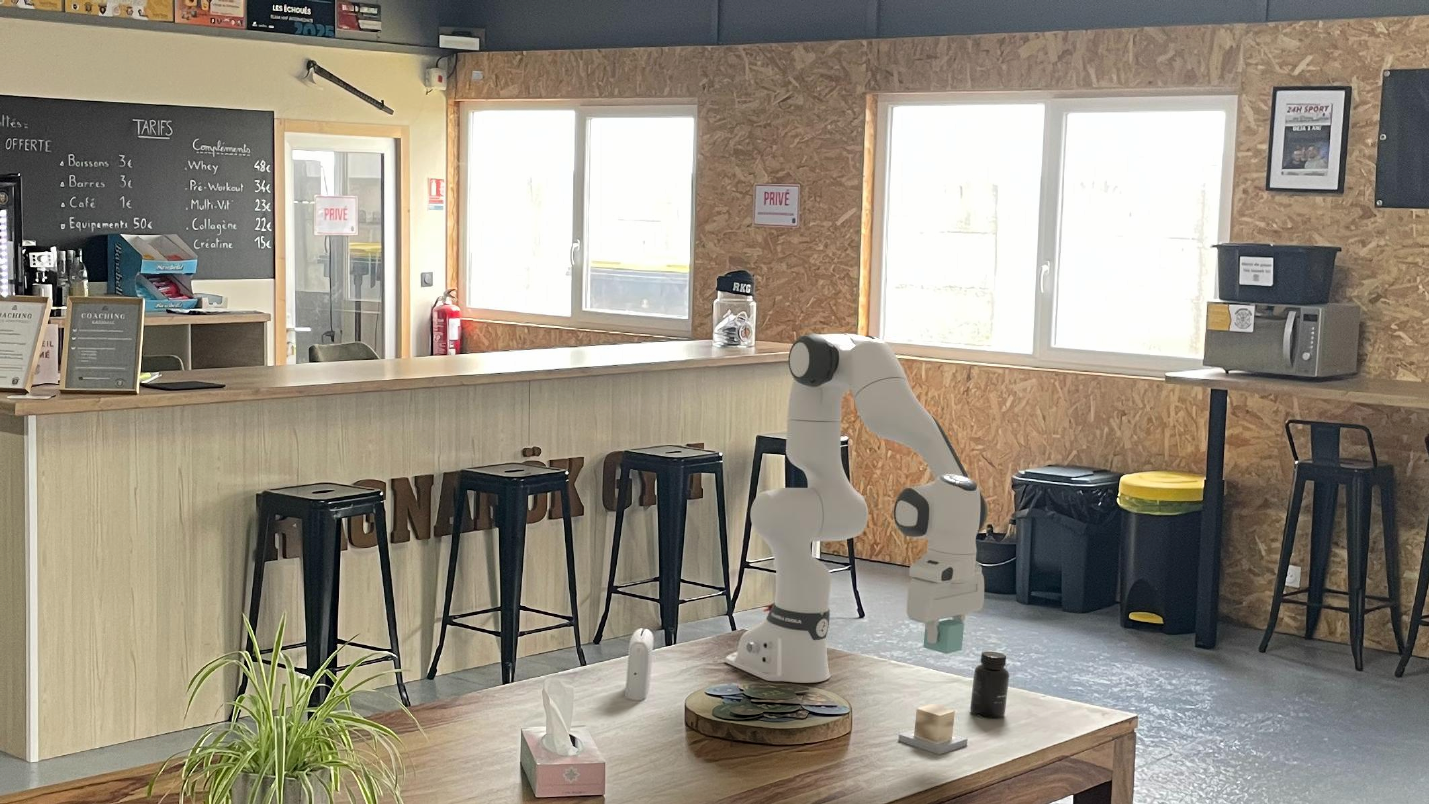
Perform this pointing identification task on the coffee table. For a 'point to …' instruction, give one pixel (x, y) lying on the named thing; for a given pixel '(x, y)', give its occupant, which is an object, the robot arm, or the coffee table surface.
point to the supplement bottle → (990, 686)
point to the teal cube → (947, 637)
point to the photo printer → (639, 664)
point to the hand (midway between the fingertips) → (943, 640)
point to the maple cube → (934, 723)
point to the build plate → (931, 745)
